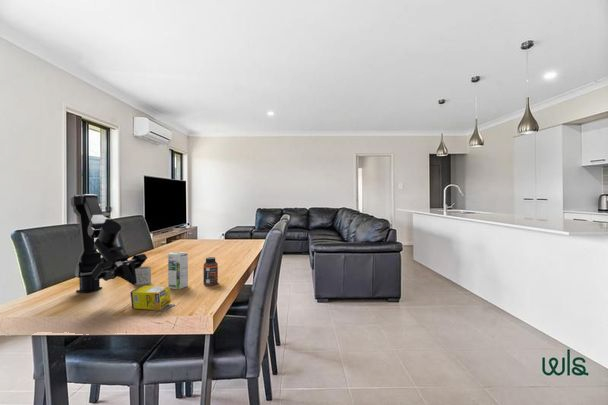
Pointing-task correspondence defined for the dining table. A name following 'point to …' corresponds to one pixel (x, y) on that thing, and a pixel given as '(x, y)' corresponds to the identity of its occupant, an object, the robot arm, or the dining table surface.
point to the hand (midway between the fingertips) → (135, 283)
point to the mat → (164, 307)
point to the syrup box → (177, 270)
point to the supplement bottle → (210, 271)
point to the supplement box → (150, 297)
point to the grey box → (143, 275)
